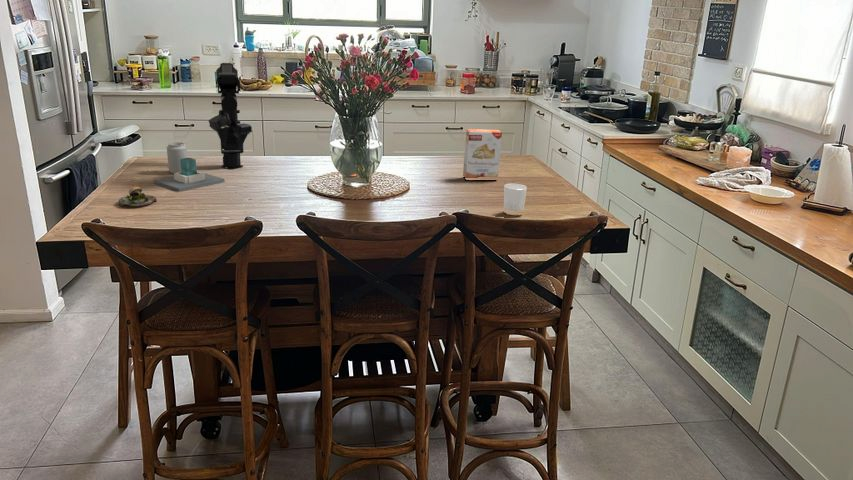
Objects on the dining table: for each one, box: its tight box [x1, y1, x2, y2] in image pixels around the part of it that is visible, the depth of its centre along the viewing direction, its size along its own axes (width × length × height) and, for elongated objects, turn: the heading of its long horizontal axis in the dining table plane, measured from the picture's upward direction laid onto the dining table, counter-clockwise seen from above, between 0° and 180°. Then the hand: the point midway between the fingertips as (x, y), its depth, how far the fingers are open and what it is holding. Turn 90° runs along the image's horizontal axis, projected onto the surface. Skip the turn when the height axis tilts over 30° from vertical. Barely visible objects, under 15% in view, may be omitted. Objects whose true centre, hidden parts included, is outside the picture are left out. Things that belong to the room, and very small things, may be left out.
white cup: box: [503, 183, 528, 211], centre depth 233 cm, size 8×8×10 cm
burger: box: [118, 184, 157, 209], centre depth 226 cm, size 12×12×8 cm
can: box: [166, 141, 188, 175], centre depth 265 cm, size 8×8×12 cm
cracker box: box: [462, 128, 503, 178], centre depth 275 cm, size 14×6×21 cm, turn 99°
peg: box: [180, 157, 198, 176], centre depth 252 cm, size 4×4×8 cm
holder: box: [153, 170, 226, 193], centre depth 253 cm, size 20×16×4 cm
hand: (231, 147), depth 257 cm, fingers open, 9 cm apart
